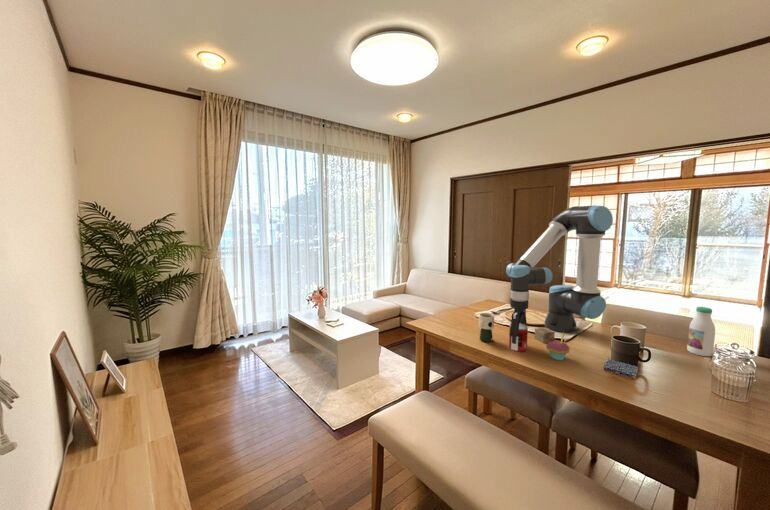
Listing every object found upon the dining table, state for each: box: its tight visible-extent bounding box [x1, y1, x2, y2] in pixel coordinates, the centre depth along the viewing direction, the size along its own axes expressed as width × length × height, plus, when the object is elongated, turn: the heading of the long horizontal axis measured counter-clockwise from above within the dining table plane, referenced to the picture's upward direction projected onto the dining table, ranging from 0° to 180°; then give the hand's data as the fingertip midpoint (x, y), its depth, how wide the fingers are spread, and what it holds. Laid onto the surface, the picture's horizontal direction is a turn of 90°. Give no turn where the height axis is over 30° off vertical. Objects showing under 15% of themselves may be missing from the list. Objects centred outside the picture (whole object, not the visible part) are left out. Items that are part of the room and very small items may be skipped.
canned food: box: [508, 323, 529, 353], centre depth 139 cm, size 8×8×11 cm
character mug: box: [478, 312, 495, 342], centre depth 148 cm, size 11×7×13 cm, turn 136°
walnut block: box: [534, 327, 555, 344], centre depth 147 cm, size 6×6×5 cm
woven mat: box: [602, 358, 639, 380], centre depth 118 cm, size 10×11×2 cm
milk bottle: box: [686, 306, 716, 357], centre depth 128 cm, size 8×8×20 cm
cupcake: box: [545, 332, 571, 361], centre depth 128 cm, size 9×8×12 cm
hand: (518, 345), depth 139 cm, fingers open, 10 cm apart
